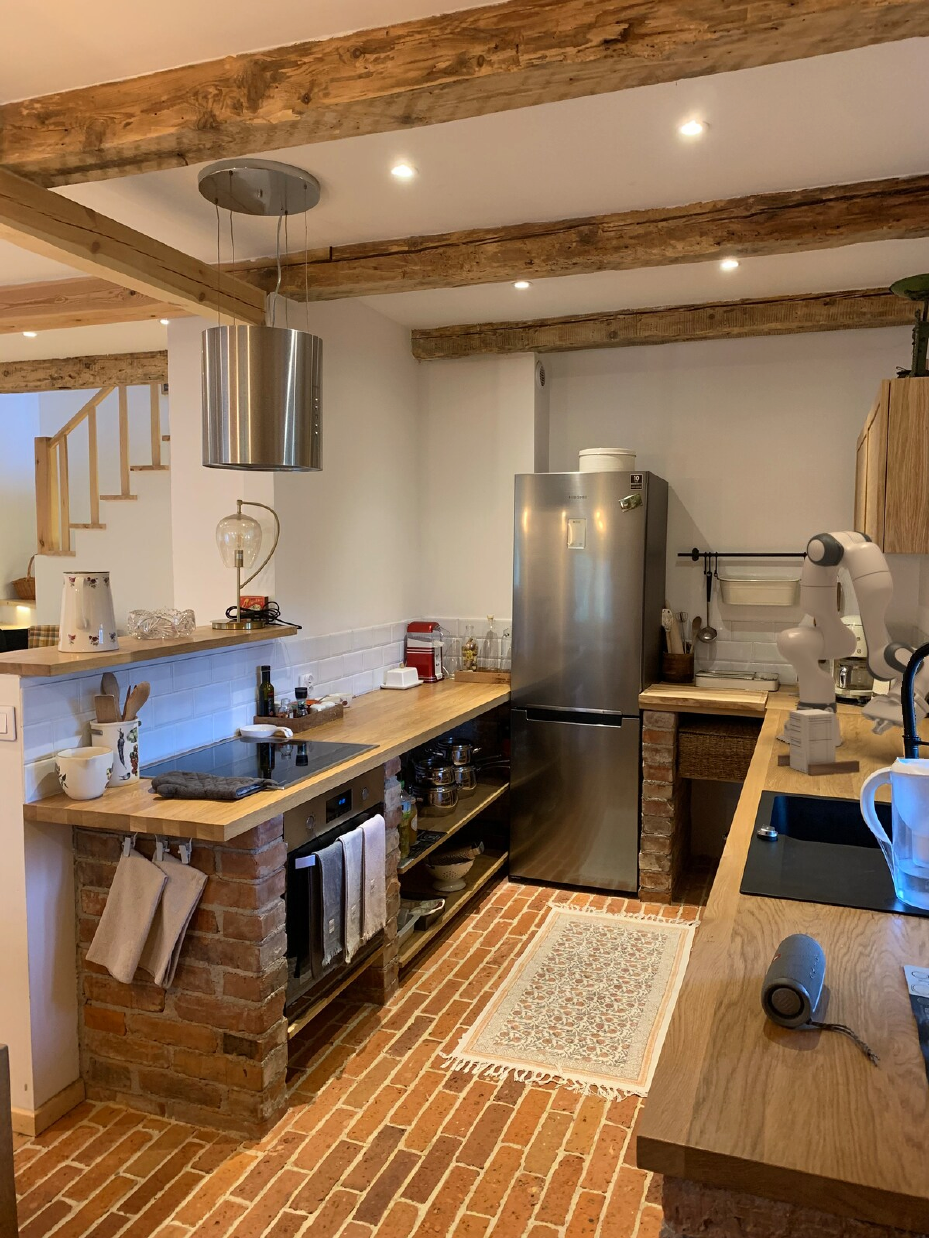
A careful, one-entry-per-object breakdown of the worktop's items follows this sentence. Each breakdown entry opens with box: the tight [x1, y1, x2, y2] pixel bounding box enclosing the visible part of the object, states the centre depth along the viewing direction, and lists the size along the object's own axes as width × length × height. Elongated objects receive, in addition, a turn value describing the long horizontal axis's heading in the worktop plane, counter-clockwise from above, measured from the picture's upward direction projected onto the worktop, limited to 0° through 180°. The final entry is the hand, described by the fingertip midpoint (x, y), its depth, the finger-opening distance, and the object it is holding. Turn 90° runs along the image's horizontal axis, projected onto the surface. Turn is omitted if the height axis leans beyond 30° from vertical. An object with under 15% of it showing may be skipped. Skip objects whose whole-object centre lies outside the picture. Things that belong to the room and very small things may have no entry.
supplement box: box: [788, 709, 837, 774], centre depth 258 cm, size 10×9×17 cm
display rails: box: [777, 753, 860, 777], centre depth 260 cm, size 16×16×3 cm
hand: (875, 732), depth 265 cm, fingers closed
